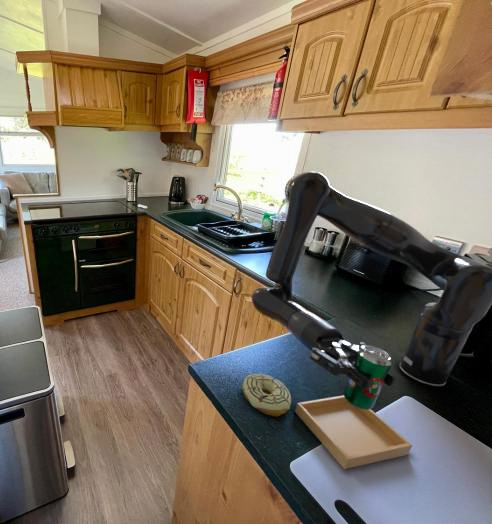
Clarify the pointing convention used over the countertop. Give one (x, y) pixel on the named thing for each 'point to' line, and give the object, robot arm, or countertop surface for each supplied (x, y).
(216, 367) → the countertop surface
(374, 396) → the soda can
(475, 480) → the countertop surface
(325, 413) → the serving tray
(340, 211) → the robot arm
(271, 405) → the decorated donut
